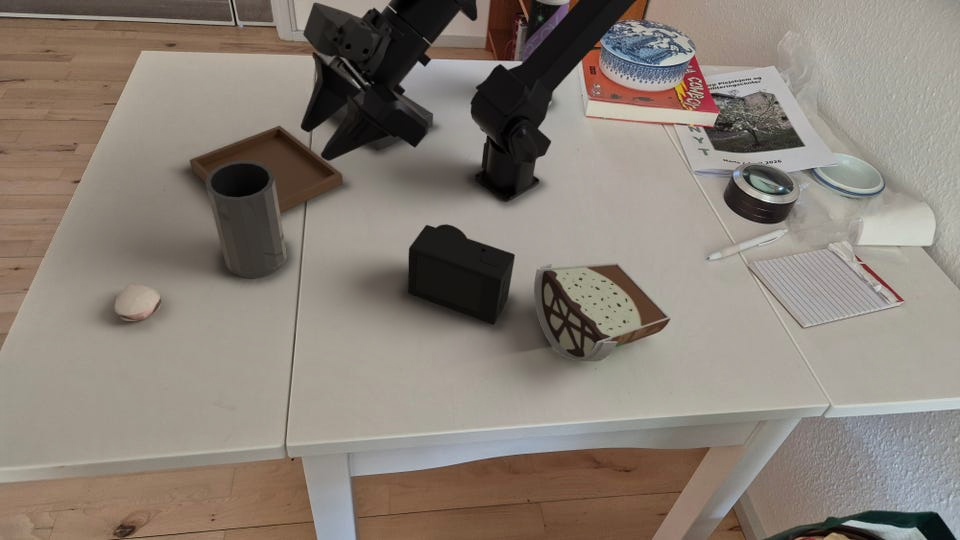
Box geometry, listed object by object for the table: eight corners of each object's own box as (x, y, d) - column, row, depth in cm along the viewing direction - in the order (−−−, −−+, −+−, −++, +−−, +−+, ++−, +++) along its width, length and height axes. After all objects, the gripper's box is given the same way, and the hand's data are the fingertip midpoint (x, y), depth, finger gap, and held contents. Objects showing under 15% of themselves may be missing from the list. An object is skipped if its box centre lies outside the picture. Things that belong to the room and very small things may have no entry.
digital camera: (512, 292, 75) (520, 246, 70) (495, 325, 71) (502, 279, 67) (429, 263, 77) (431, 217, 72) (408, 293, 74) (408, 247, 69)
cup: (297, 260, 76) (286, 182, 68) (245, 287, 72) (227, 208, 65) (265, 230, 79) (251, 153, 71) (214, 255, 75) (193, 176, 68)
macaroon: (124, 332, 67) (117, 315, 65) (110, 300, 69) (102, 283, 68) (168, 315, 69) (162, 298, 67) (153, 285, 71) (146, 268, 70)
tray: (342, 184, 86) (342, 173, 85) (251, 226, 79) (249, 215, 78) (281, 135, 93) (279, 125, 92) (191, 170, 86) (189, 159, 85)
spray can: (513, 91, 107) (531, -37, 93) (546, 90, 108) (568, -37, 94) (521, 109, 103) (540, -22, 89) (555, 108, 104) (579, -21, 90)
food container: (593, 296, 78) (521, 310, 73) (609, 254, 74) (534, 266, 70) (658, 371, 70) (581, 391, 65) (680, 328, 66) (600, 346, 62)
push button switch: (432, 126, 98) (433, 102, 95) (379, 150, 92) (378, 125, 90) (381, 92, 103) (380, 69, 101) (327, 113, 98) (325, 89, 95)
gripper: (315, -61, 66) (222, 63, 69) (399, 17, 55) (285, 159, 58) (388, 6, 75) (303, 113, 78) (473, 84, 64) (371, 205, 67)
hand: (313, 143), depth 70 cm, fingers open, 5 cm apart
